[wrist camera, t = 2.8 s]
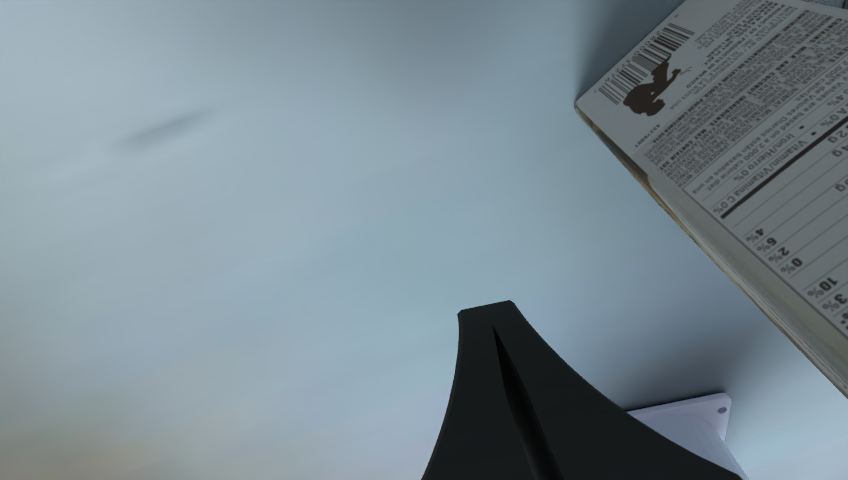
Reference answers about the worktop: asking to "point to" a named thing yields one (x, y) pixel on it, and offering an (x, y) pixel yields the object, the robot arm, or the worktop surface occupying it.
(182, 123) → the worktop surface
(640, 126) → the coffee box
